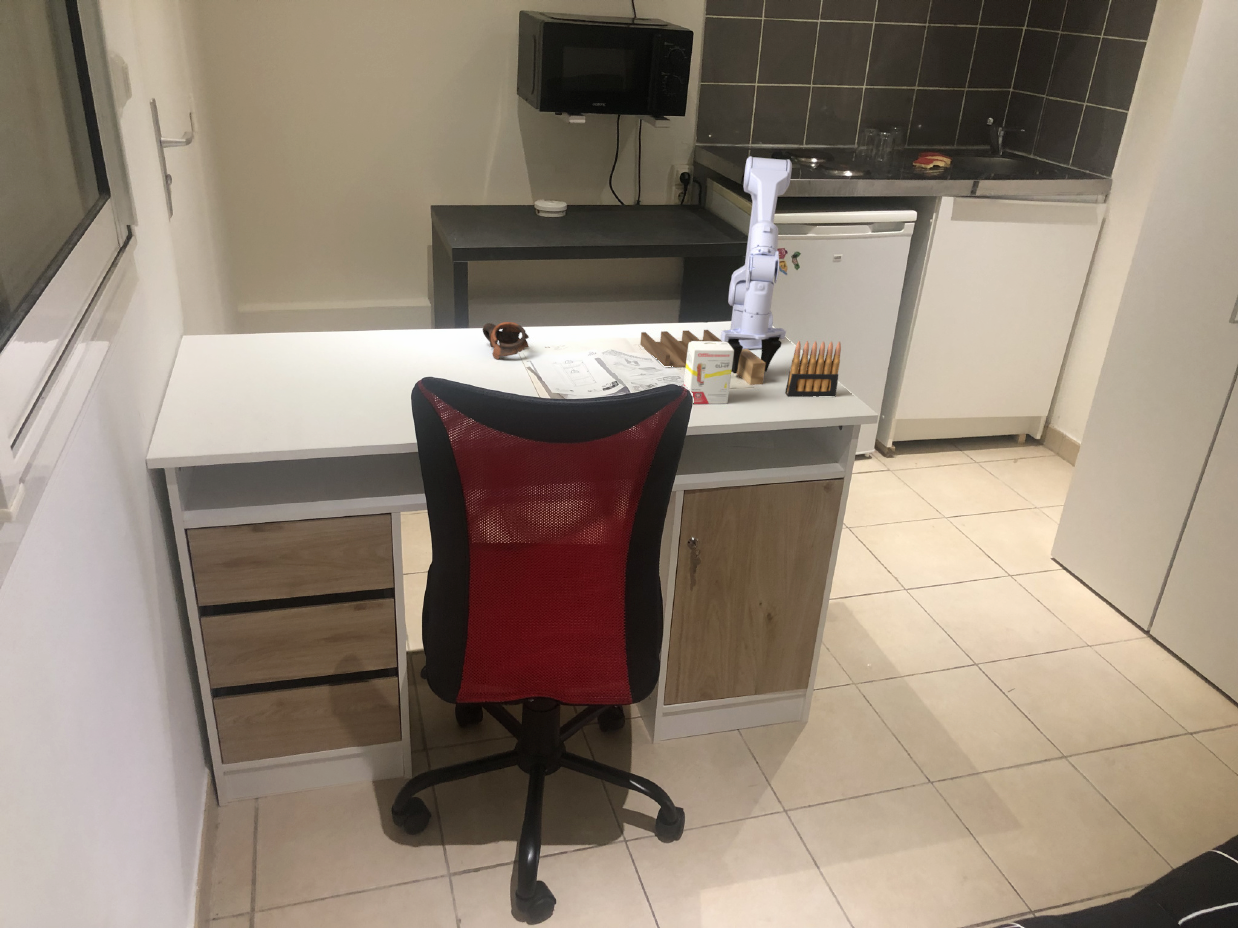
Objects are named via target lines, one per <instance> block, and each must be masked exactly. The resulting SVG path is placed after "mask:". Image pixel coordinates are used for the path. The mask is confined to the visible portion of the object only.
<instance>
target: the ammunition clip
mask: <svg viewBox="0 0 1238 928" xmlns="http://www.w3.org/2000/svg"><path fill="white" fill-rule="evenodd" d="M841 345H842V344H841V341H838V342H837V344H836V347H835V349H834V343H833V341H832V340H831V341H830V342H829V345H828V347H827V350H826V343H825V341H822V342H821V343H820V347H819V349H818V344H817V341H816V340H815V341H814V342H813V344H812V347H811V349H810V343H809V341H808V340H807V341H806V342H805V344H804V346H803V349H802V348H801V347H802V346H801V341H800V340H798V341H797V343H796V345H795V348H794V352H793V356H792V359H791V366H790V370H789V372H788V373H789V374H788V378H787V383H786V387H785V392H784V394H785V395H786V397H788V398H789V397H790V398H792V397H793V398H796V397H798V398H799V397H800V398H801V397H802V398H806V397H807V398H810V397H811V398H814V397H813V396H816V397H815V398H820V397H819V396H835V395H836V396H837V390H838V382H839V369H840V363H841V351H842V346H841ZM801 349H802V354H801ZM809 350H811V351H809ZM825 351H826V352H825ZM809 352H810V354H809ZM817 352H818V354H817ZM833 352H834V354H833ZM825 353H826V354H825ZM800 357H801V358H800ZM836 396H835V397H836Z"/></svg>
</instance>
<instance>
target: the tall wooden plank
mask: <svg viewBox="0 0 1238 928" xmlns="http://www.w3.org/2000/svg"><path fill="white" fill-rule="evenodd" d="M765 364H766V363H765V362H764V361H763V360H761V357H759V356H757V355H756V354H755V353H754V352H752V351H751V349H742V351H741V354H740V358H739V364H738V371H737V373H736V375H738V376H739V377H740V378H741V379H742V380H744V381H745V382H746V383H747V384H748V385H750V386H755V385H756V386H758V385H763V384H764V378H765V372H764V371H765Z"/></svg>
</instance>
